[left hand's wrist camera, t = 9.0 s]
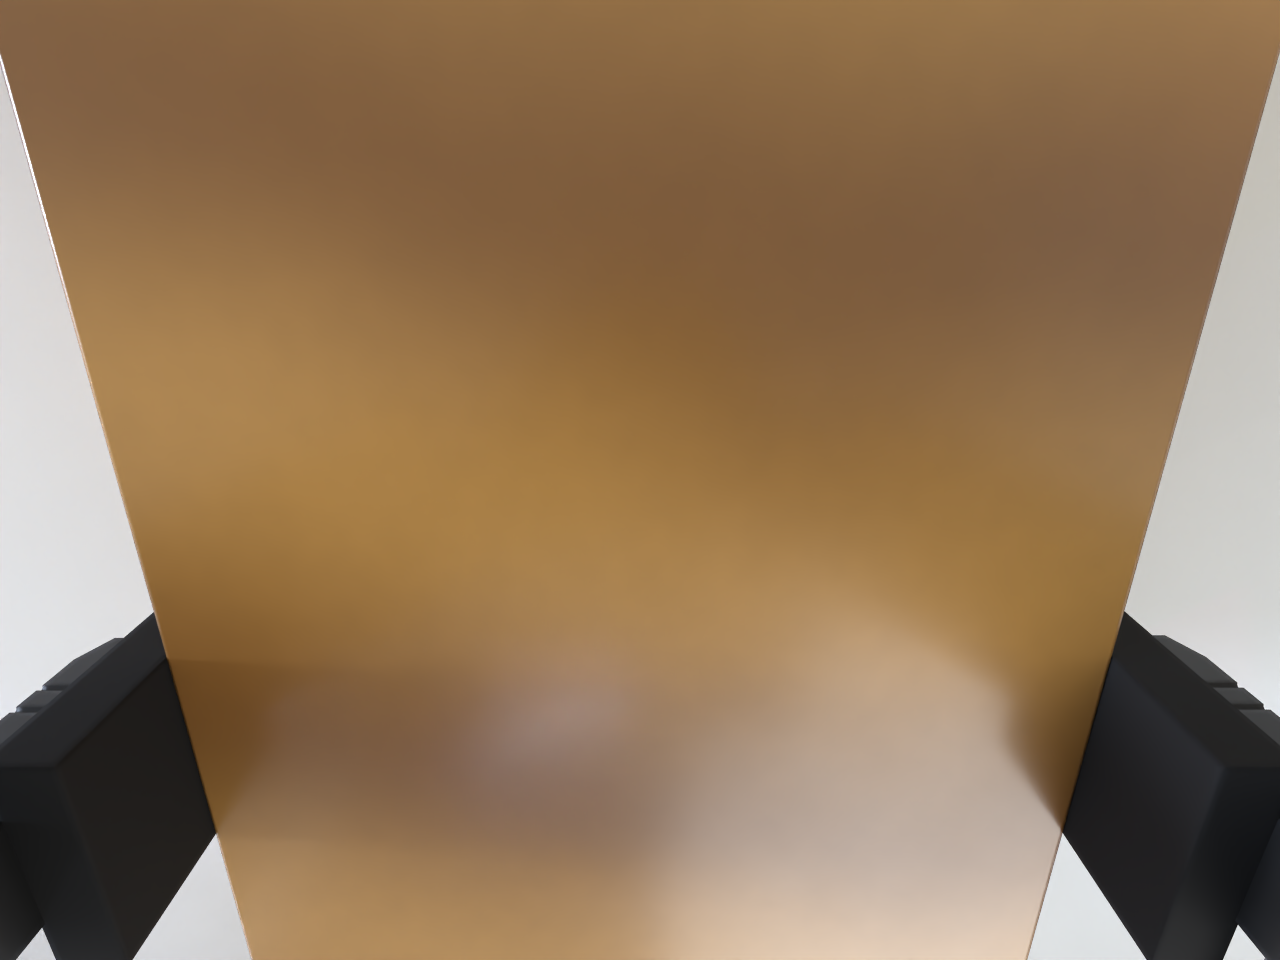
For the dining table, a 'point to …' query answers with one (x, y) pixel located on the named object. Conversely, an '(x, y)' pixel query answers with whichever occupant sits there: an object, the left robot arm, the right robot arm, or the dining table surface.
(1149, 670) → the left robot arm
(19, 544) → the dining table surface
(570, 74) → the cabinet
